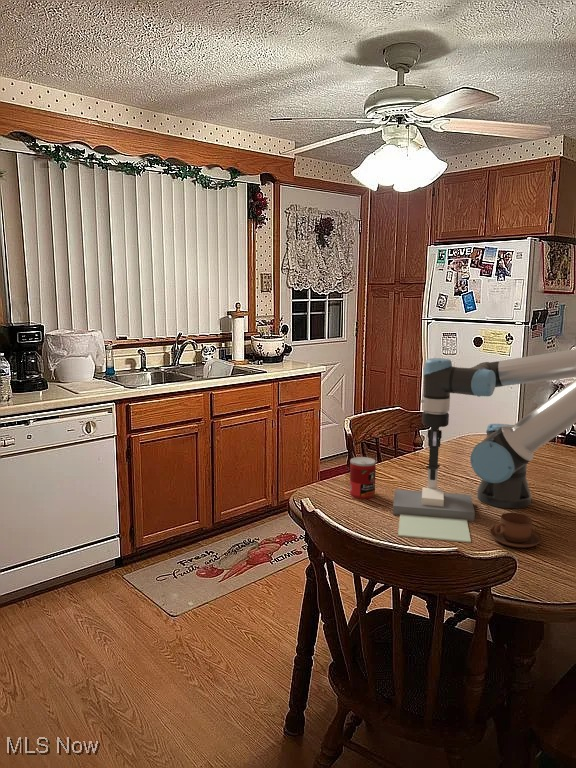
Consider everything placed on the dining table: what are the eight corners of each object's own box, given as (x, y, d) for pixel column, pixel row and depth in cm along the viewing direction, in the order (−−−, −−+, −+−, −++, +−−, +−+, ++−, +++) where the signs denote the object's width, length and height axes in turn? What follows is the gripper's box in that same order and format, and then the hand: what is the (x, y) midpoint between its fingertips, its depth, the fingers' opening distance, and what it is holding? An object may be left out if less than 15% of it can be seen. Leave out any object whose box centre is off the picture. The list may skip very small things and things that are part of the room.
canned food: (363, 501, 174) (363, 465, 172) (344, 494, 180) (344, 459, 178) (380, 495, 178) (381, 461, 177) (361, 488, 184) (362, 455, 183)
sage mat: (466, 521, 158) (466, 519, 158) (470, 542, 145) (470, 541, 145) (399, 515, 162) (400, 514, 162) (397, 536, 149) (397, 534, 149)
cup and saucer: (523, 556, 138) (524, 532, 137) (480, 539, 147) (481, 516, 146) (550, 543, 145) (552, 520, 144) (507, 527, 154) (509, 505, 153)
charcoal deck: (470, 502, 172) (470, 494, 171) (474, 521, 158) (474, 512, 158) (395, 497, 177) (395, 489, 176) (392, 514, 163) (393, 505, 163)
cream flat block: (422, 493, 172) (422, 487, 172) (443, 495, 171) (443, 489, 171) (421, 504, 164) (421, 497, 163) (443, 506, 162) (443, 499, 162)
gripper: (422, 406, 175) (419, 481, 179) (421, 415, 163) (418, 495, 167) (448, 407, 174) (444, 483, 178) (449, 417, 161) (445, 497, 165)
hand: (432, 488), depth 172 cm, fingers closed
